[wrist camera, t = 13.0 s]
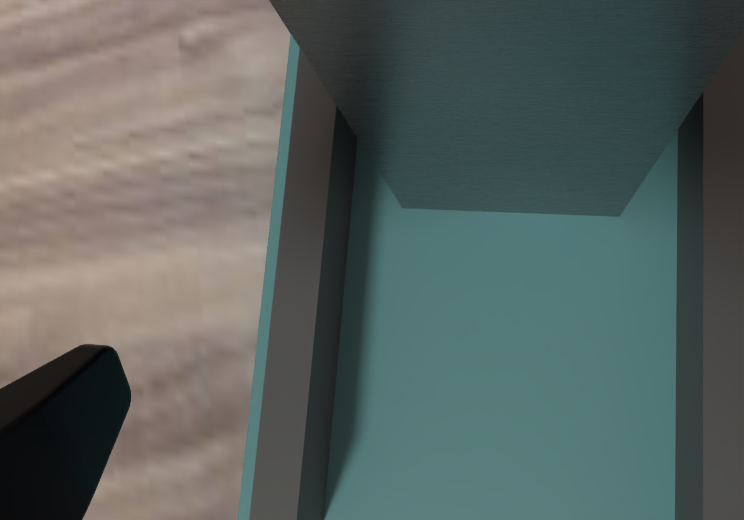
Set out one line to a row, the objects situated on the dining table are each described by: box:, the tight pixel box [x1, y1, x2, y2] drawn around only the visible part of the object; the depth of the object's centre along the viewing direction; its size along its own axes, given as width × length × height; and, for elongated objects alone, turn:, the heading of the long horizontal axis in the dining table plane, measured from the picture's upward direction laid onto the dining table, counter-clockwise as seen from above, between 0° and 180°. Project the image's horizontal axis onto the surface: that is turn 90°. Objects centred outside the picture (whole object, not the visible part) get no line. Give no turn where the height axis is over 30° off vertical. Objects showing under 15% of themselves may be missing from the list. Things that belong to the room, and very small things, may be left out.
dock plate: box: [238, 31, 744, 520], centre depth 17 cm, size 18×14×5 cm
